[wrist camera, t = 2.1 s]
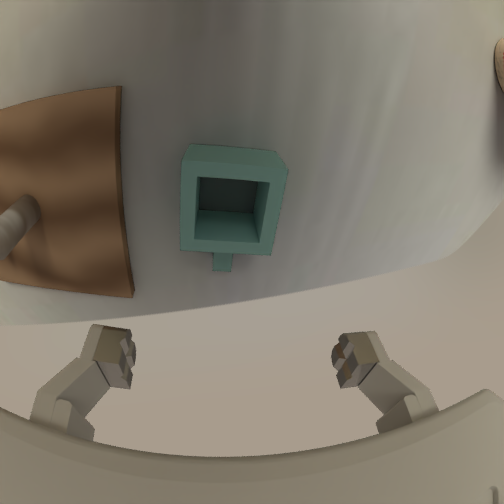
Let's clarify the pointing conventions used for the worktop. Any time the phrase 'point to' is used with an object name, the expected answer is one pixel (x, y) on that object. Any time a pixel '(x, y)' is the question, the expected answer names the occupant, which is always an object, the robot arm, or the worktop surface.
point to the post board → (64, 194)
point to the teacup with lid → (500, 62)
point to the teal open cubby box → (230, 223)
